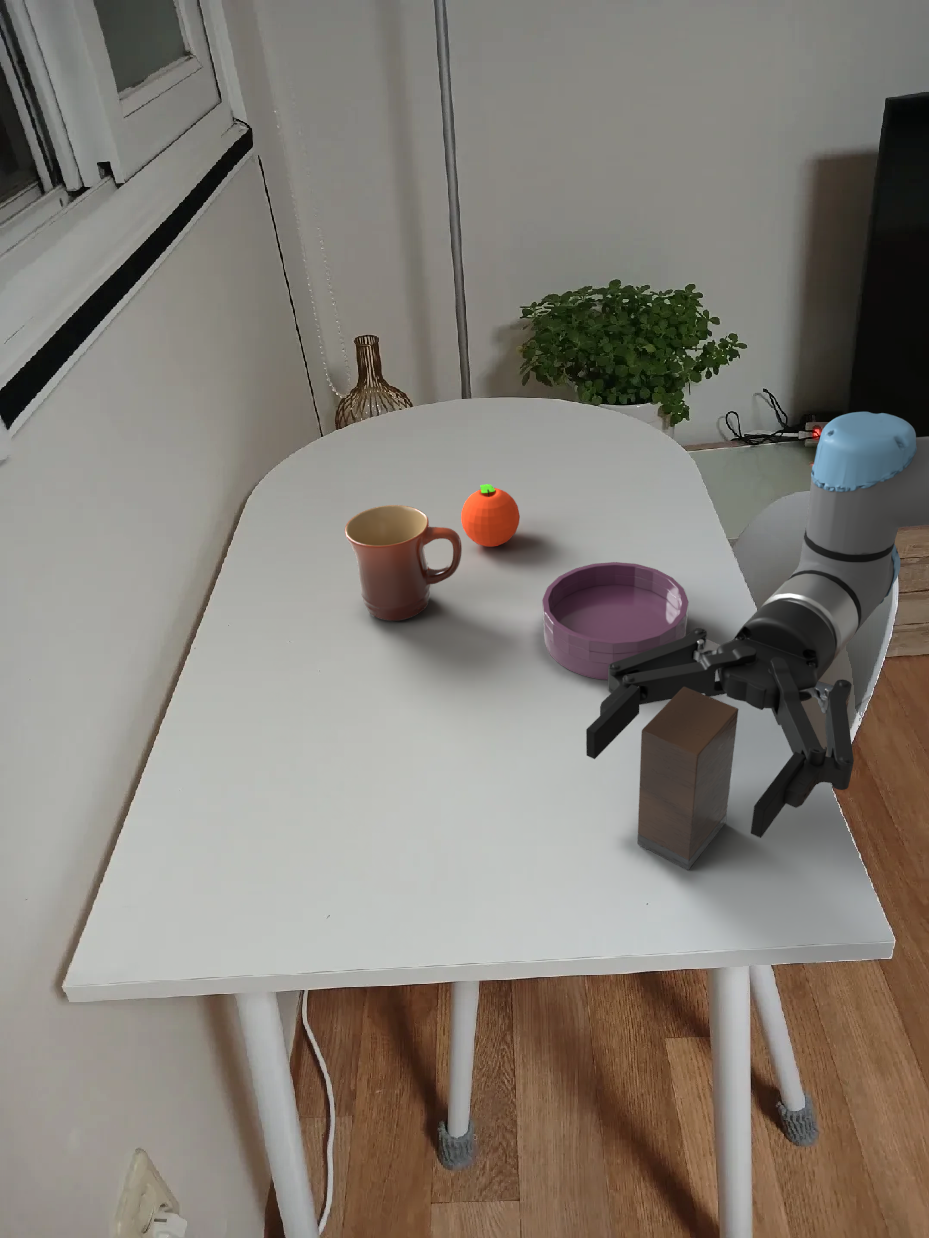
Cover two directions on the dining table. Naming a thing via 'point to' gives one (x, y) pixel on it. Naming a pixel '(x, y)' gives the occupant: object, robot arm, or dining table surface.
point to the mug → (397, 559)
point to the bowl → (611, 615)
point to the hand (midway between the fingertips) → (669, 781)
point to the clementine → (490, 516)
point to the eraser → (685, 776)
